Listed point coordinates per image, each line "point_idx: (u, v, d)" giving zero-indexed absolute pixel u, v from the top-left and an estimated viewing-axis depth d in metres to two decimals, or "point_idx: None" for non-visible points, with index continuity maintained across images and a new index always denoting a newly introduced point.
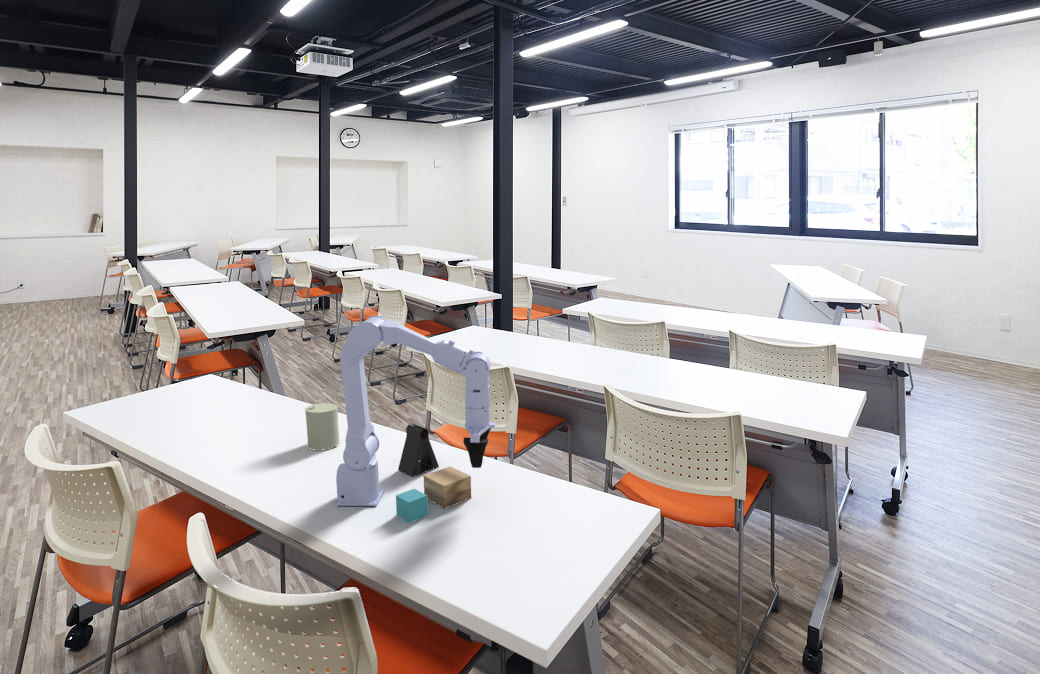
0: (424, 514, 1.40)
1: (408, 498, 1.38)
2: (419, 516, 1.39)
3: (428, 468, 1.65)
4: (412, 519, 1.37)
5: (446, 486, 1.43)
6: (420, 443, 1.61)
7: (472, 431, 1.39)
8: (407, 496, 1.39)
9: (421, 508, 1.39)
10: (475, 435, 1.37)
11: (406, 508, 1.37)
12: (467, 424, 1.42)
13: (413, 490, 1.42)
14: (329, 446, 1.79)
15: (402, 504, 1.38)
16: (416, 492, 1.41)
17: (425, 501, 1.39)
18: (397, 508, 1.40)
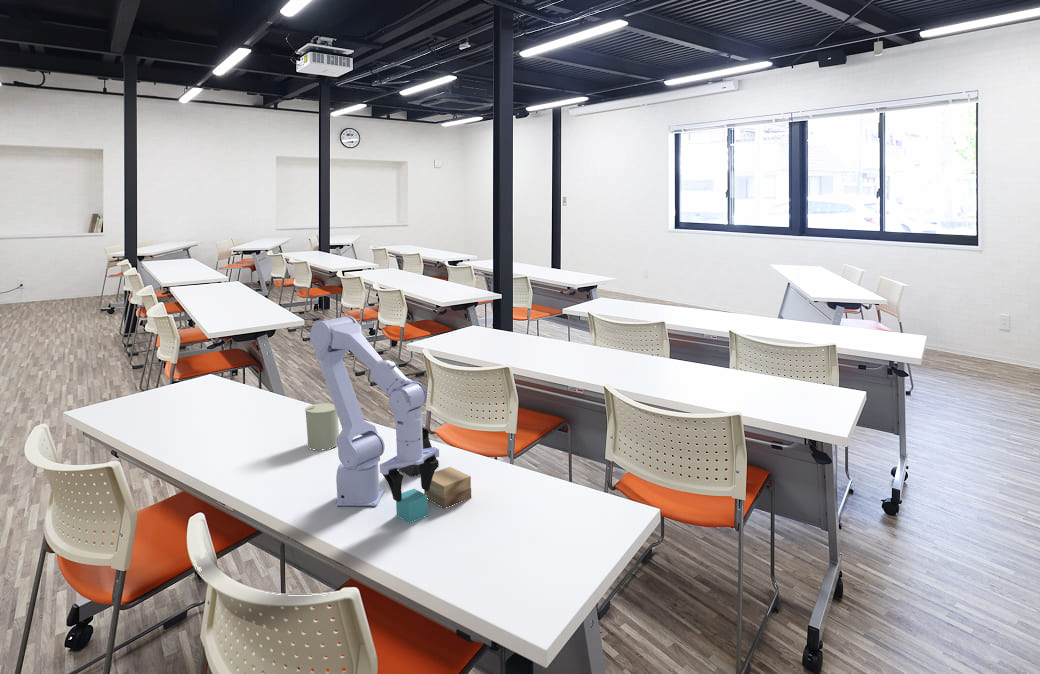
0: (424, 514, 1.40)
1: (408, 498, 1.38)
2: (419, 516, 1.39)
3: None
4: (412, 519, 1.37)
5: (446, 486, 1.43)
6: None
7: (390, 462, 1.35)
8: (407, 496, 1.39)
9: (421, 508, 1.39)
10: (382, 466, 1.32)
11: (406, 508, 1.37)
12: None
13: (413, 490, 1.42)
14: (329, 446, 1.79)
15: (402, 504, 1.38)
16: (416, 492, 1.41)
17: (425, 501, 1.39)
18: (397, 508, 1.40)
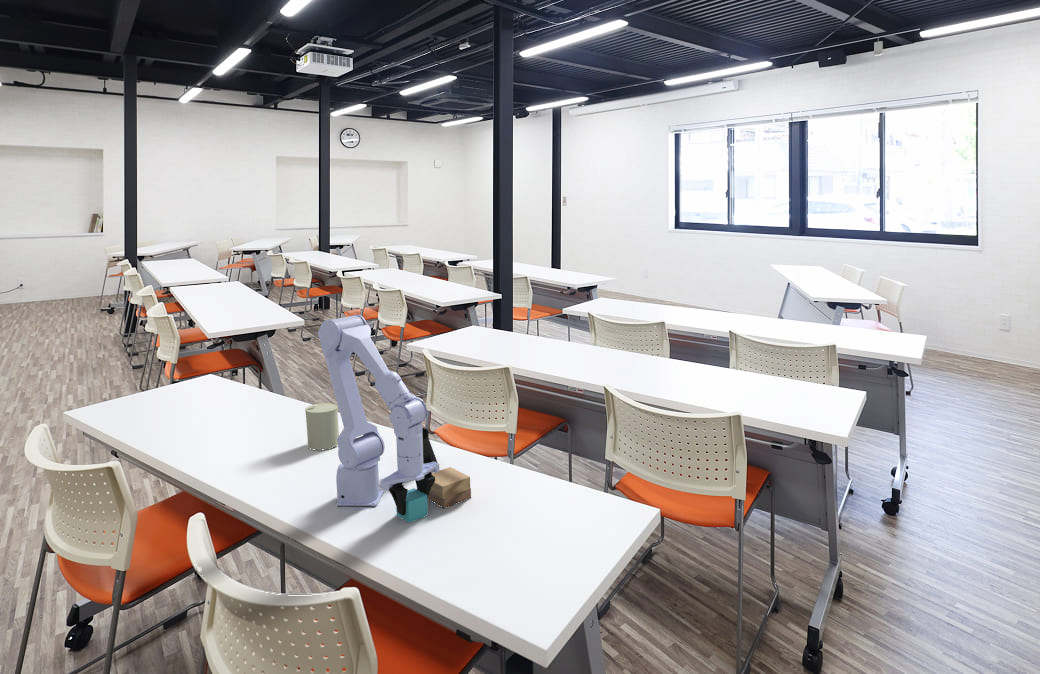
0: (424, 514, 1.40)
1: (409, 497, 1.38)
2: (419, 516, 1.39)
3: None
4: (412, 519, 1.37)
5: (444, 487, 1.43)
6: None
7: (390, 477, 1.35)
8: (407, 496, 1.39)
9: (422, 507, 1.39)
10: (383, 482, 1.33)
11: (406, 508, 1.37)
12: None
13: (413, 490, 1.42)
14: (329, 446, 1.79)
15: None
16: (416, 492, 1.41)
17: (425, 501, 1.39)
18: None
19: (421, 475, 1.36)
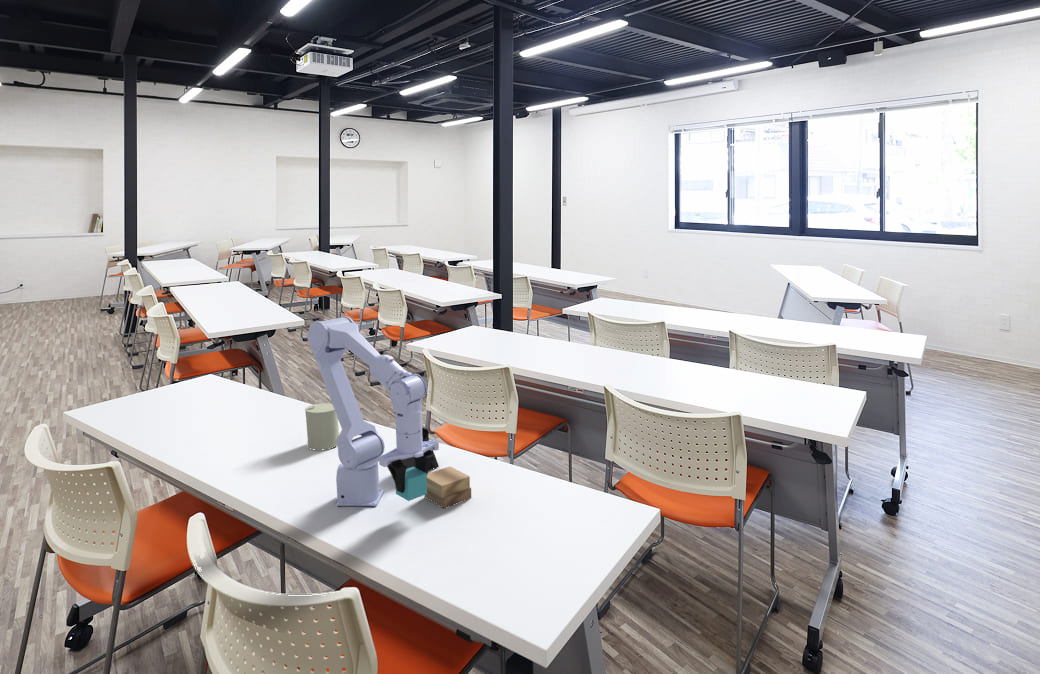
0: (423, 492, 1.38)
1: (408, 475, 1.37)
2: (418, 494, 1.38)
3: None
4: (411, 497, 1.36)
5: (444, 486, 1.43)
6: None
7: (389, 454, 1.34)
8: (407, 474, 1.38)
9: (421, 486, 1.38)
10: (382, 458, 1.32)
11: (405, 486, 1.36)
12: None
13: (412, 468, 1.41)
14: (329, 446, 1.79)
15: None
16: (415, 470, 1.40)
17: (424, 479, 1.38)
18: None
19: (420, 452, 1.35)
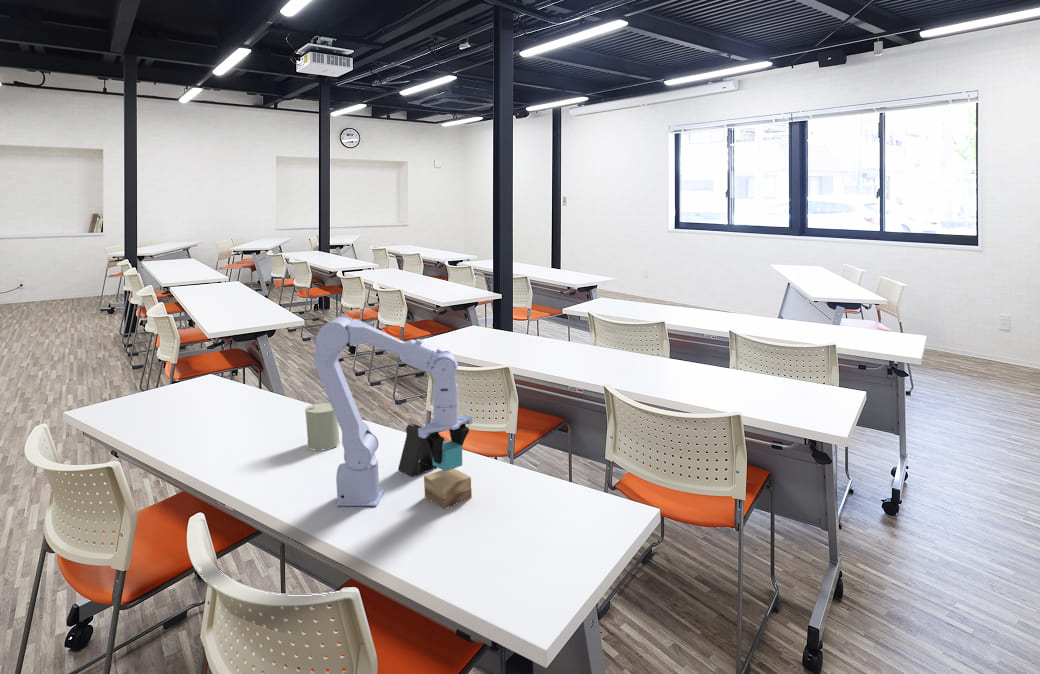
0: (459, 464, 1.46)
1: (445, 447, 1.45)
2: (454, 465, 1.46)
3: (428, 468, 1.65)
4: (448, 467, 1.44)
5: (445, 487, 1.43)
6: (420, 443, 1.61)
7: (427, 427, 1.43)
8: (443, 446, 1.46)
9: (457, 457, 1.46)
10: (421, 430, 1.40)
11: (442, 457, 1.44)
12: None
13: (448, 441, 1.49)
14: (329, 446, 1.79)
15: None
16: (451, 443, 1.48)
17: (460, 451, 1.46)
18: None
19: (456, 425, 1.43)
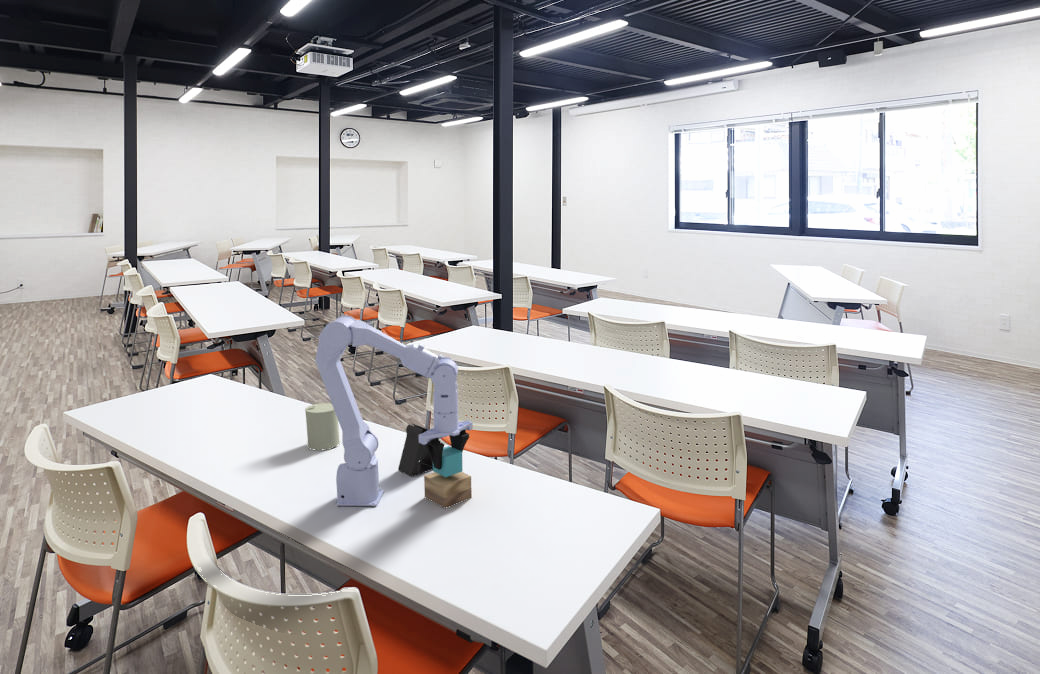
0: (459, 469, 1.47)
1: (445, 453, 1.45)
2: (455, 471, 1.46)
3: (428, 468, 1.65)
4: (448, 473, 1.45)
5: (446, 486, 1.43)
6: (420, 443, 1.61)
7: (427, 433, 1.43)
8: (444, 452, 1.46)
9: (457, 463, 1.46)
10: (421, 437, 1.41)
11: (442, 463, 1.44)
12: None
13: (448, 447, 1.49)
14: (329, 446, 1.79)
15: None
16: (451, 449, 1.48)
17: (460, 457, 1.46)
18: None
19: (457, 431, 1.44)
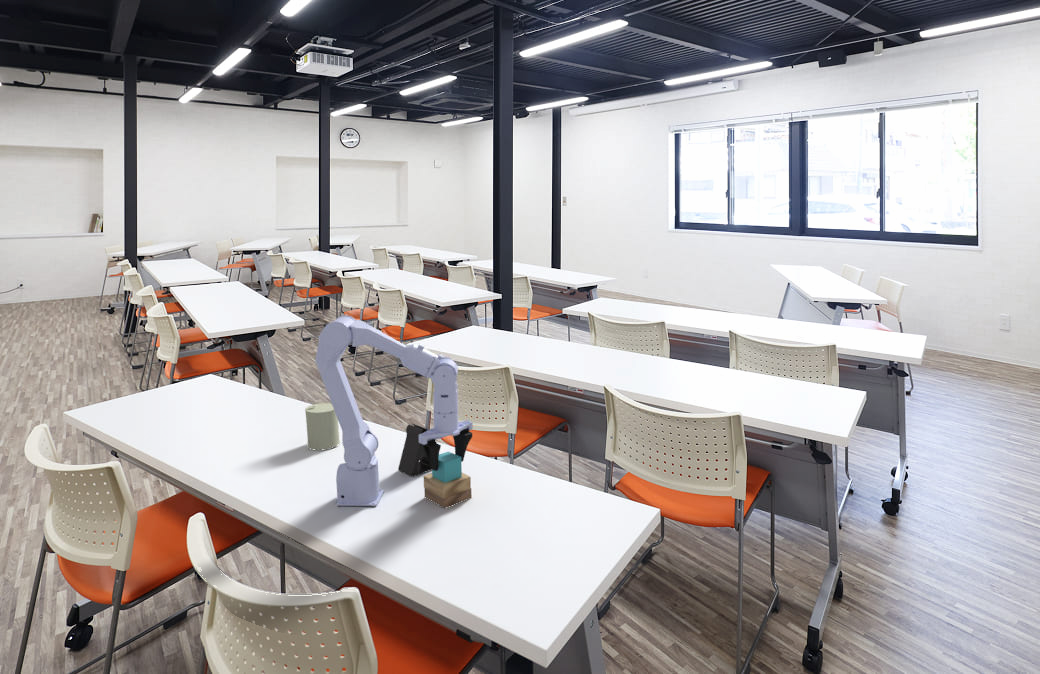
0: (458, 475, 1.47)
1: (444, 459, 1.45)
2: (454, 476, 1.46)
3: (428, 468, 1.65)
4: (447, 479, 1.45)
5: (445, 486, 1.43)
6: None
7: (427, 433, 1.43)
8: (443, 457, 1.46)
9: (456, 469, 1.46)
10: (421, 437, 1.41)
11: (441, 468, 1.44)
12: None
13: (447, 453, 1.49)
14: (329, 446, 1.79)
15: None
16: (450, 454, 1.48)
17: (459, 462, 1.47)
18: None
19: (457, 431, 1.44)
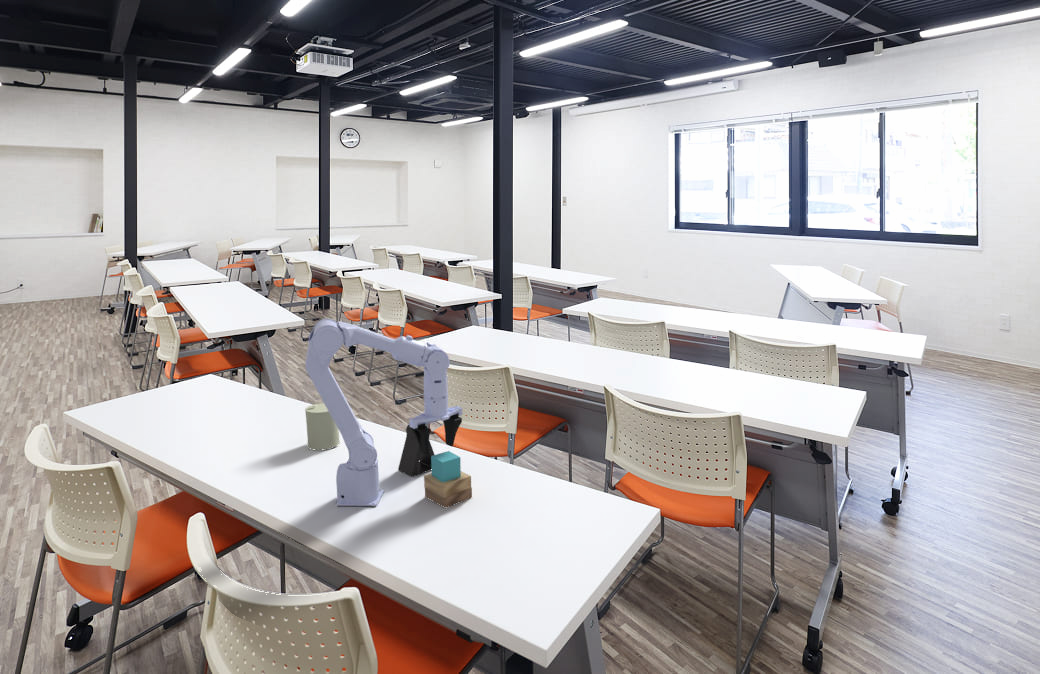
0: (457, 475, 1.47)
1: (443, 458, 1.46)
2: (452, 476, 1.46)
3: (428, 468, 1.65)
4: (445, 478, 1.45)
5: (446, 486, 1.43)
6: None
7: (418, 417, 1.47)
8: (442, 457, 1.47)
9: (455, 469, 1.46)
10: (412, 421, 1.45)
11: (440, 468, 1.45)
12: None
13: (448, 452, 1.49)
14: (329, 446, 1.79)
15: (437, 464, 1.46)
16: (450, 454, 1.48)
17: (458, 462, 1.47)
18: (432, 468, 1.48)
19: (446, 416, 1.48)
